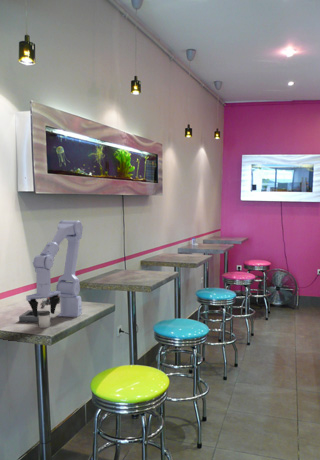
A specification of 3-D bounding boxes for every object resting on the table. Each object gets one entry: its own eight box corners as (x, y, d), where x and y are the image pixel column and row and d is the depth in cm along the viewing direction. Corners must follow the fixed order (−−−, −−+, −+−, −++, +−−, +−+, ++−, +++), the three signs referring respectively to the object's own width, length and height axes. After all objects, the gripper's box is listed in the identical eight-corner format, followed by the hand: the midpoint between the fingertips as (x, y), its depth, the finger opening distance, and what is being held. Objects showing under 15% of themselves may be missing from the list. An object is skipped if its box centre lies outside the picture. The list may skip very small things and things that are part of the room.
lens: (51, 324, 182) (51, 311, 182) (48, 328, 177) (47, 314, 177) (41, 324, 182) (40, 310, 182) (37, 327, 178) (36, 313, 177)
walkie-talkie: (43, 299, 228) (41, 309, 208) (43, 291, 227) (40, 300, 208) (60, 298, 229) (59, 308, 210) (60, 290, 229) (59, 299, 209)
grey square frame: (49, 316, 195) (49, 310, 194) (41, 322, 185) (41, 317, 184) (28, 315, 195) (28, 310, 195) (19, 322, 185) (19, 316, 185)
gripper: (55, 279, 186) (55, 310, 187) (23, 284, 177) (23, 315, 178) (62, 282, 181) (63, 313, 182) (29, 286, 171) (30, 319, 172)
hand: (44, 314), depth 179 cm, fingers open, 7 cm apart
